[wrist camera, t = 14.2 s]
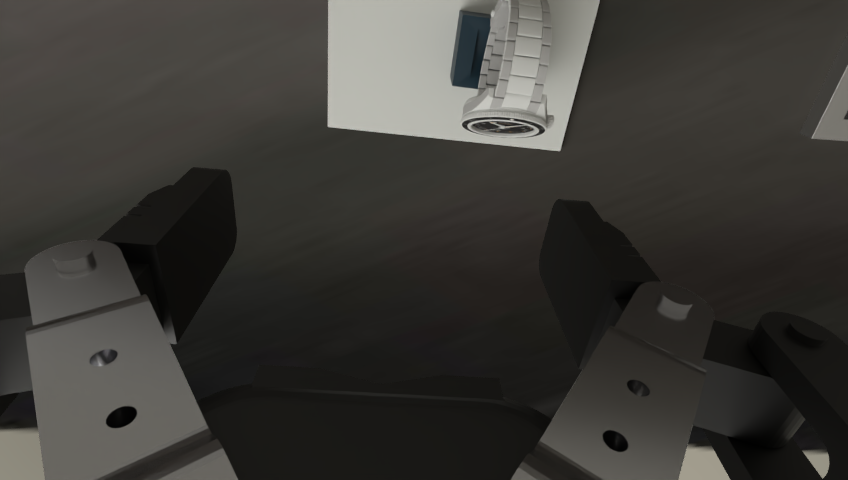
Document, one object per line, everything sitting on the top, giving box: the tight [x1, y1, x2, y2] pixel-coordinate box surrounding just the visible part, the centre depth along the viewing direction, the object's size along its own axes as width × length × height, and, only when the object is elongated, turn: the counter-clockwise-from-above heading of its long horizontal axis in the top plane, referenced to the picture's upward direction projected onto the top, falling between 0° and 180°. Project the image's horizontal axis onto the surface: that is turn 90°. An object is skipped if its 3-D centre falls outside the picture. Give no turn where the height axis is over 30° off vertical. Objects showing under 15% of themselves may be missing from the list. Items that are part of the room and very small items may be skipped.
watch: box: [450, 0, 554, 138], centre depth 28 cm, size 6×8×11 cm
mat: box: [328, 0, 600, 151], centre depth 33 cm, size 18×14×1 cm
